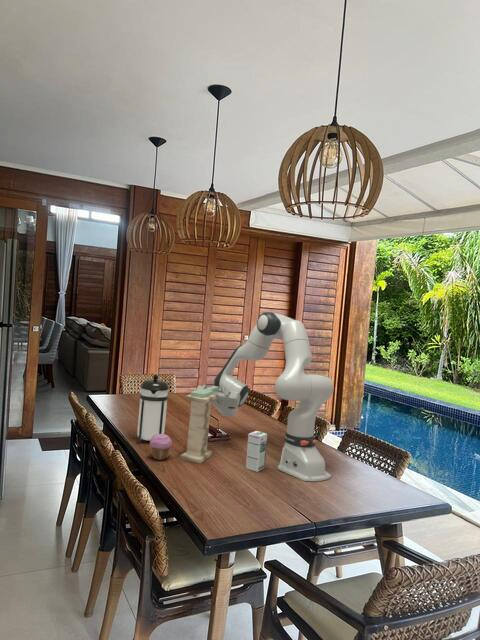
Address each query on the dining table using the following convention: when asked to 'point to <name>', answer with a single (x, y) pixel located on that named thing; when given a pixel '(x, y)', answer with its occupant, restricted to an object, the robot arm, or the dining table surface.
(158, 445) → the cupcake
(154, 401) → the coffee press
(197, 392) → the spatula
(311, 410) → the robot arm
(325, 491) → the dining table surface
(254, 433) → the syrup box
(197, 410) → the stand
